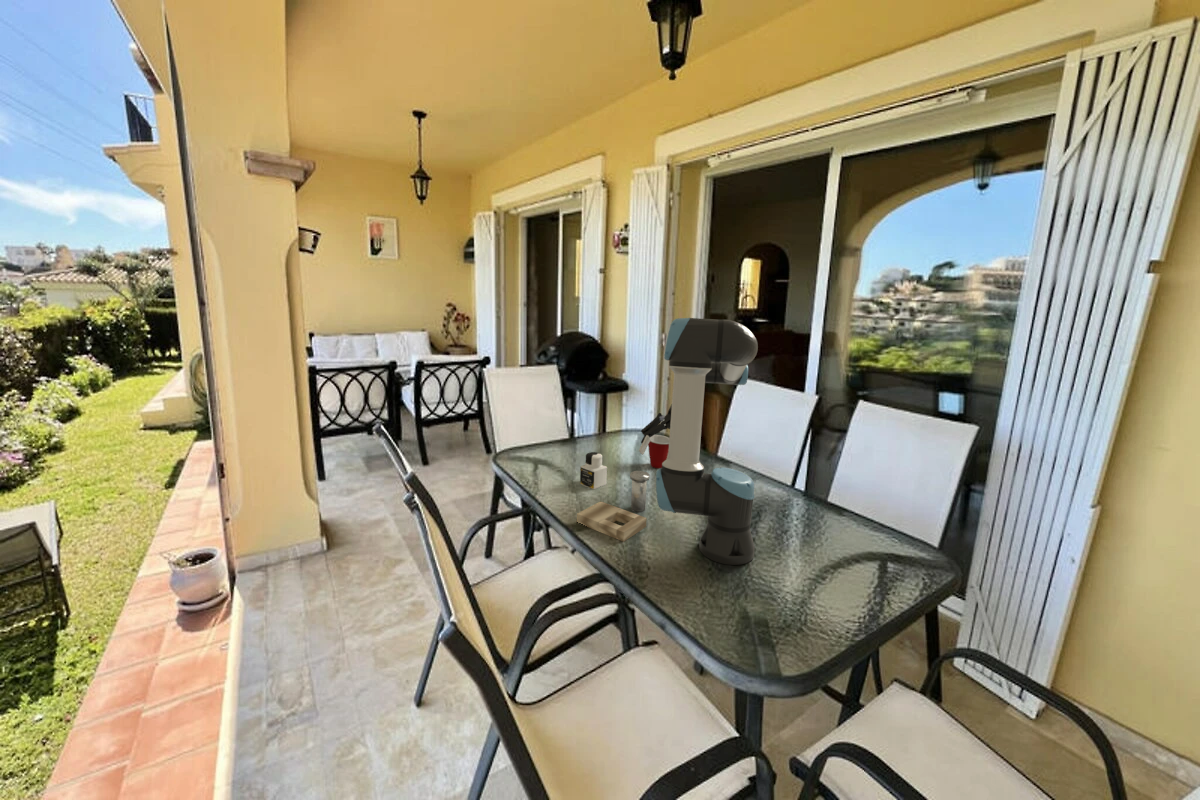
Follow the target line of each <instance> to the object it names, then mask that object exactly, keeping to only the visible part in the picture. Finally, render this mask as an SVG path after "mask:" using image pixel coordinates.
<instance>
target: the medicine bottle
mask: <svg viewBox="0 0 1200 800" xmlns="http://www.w3.org/2000/svg"><path fill="white" fill-rule="evenodd" d="M607 471H608V467H607V466H606V465H603V455H602V454H601V453H600V452H597V451H591V452H588V453H586V454H585V464H584V465H581V466H580V471H579V472H580V474H579V476H580V477H579V484H580V485H581V484H582V485H581V486H584V487H587V488H589V489H591V490H595V489H598V488H601V487H603V486H606V485H607V479H608V478H607V477H608V474H607V473H608V472H607ZM600 486H601V487H600Z"/></svg>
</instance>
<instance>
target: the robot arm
mask: <svg viewBox="0 0 1200 800" xmlns="http://www.w3.org/2000/svg"><path fill="white" fill-rule="evenodd" d="M666 338H667V339H666V342H665V349H664V355H663V358H664V360H665V361H669V362H668V363H669V364H668V368H669V369H670V370H671V372H673V383H672V384H673V385H672V397H671V404H670V406H669V407H668V411H667V414H666V415H664V414H662V413H661V412H659V413H658V414H657V415H656V417H654V418H653V419H652V420H651V421H649V423H648V424H647V425H646V426H644V427H643V428H642V429H641V430H640V432H641V434H642V435H643V437H642V438H641V441H640V443H641V445H640V447H639V449H638V452H639V453H640V454H641V455H643V456H644V454H645V452H646V450H647V448H648V444H649V442H650V440H651V439H650V437H652V436H653V435H658V433H660V432H662V431H663V430H664V431H665V430H667V429H668V430H669V452H668V456H667V459H666V460H665V461H664V462H663V463H662V468H656V473H655V489H656V501H657V506H658V507H659V509H660V510H661V511H664V512H671V513H674V514H677V513H678V514H685V515H686V514H687V515H694V516H695V515H696V516H705V517H707V523H706V525H705V527H704V529H703V531H702V533H701V536H700V538H699V544H698V545H699V546H698V549H699V551H700V553H701V554H702V555H704V557H706V558H707V559H709V560H711V561H713V562H715V563H719V564H724V565H729V566H730V565H731V566H734V565H735V566H740V565H743V564H744V565H745V564H748V563H750V562H751V561H752V560H753V559H754V557H755V542H754V540H753V535H752V531H751V524H752V513H753V507H754V506H753V505H754V499H755V483H754V480H753V479H752V478H751V476H750V475H747V474H746V473H744V472H742V471H740V470H737V469H733V468H729V467H716V468H713V469H712V471H711V472H710V473H706V472H704V471H705V466H704V465H703V464H702V463H701V461H700V450H701V439H702V438H701V437H702V425H703V415H704V414H703V413H704V399H705V386H706V384H719V385H720V384H722V385H734V386H739V385H740V386H744V385H746V384H747V382H748V377H749V364H751V363H752V362H753V360H754V359H755V357H756V356H757V353H758V350H759V349H758V348H759V346H758V344H759V343H758V340H757V338H756V337H755V335H754V333H753V332H752V331H751V330H750V329H749V328H748V327H747V326H745V325H744V324H742V323H739V322H736V321H735V320H730V319H712V318H697V317H684V318H683V317H681V318H675V319H673V320H672V322H671V324H670V326H669V330H668V333H667V337H666Z"/></svg>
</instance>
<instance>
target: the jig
mask: <svg viewBox="0 0 1200 800" xmlns="http://www.w3.org/2000/svg"><path fill="white" fill-rule="evenodd" d="M647 521H648V519H647V517H645V516H642V515H639V514H636V513H635V512H631V511H628V510H626V509H622V508H620V507H618V506H614V505H612V504H609V503H606V502H604V501H599V502H596V503H594V504H593V505H591V506H589V507H587V508H585V509H583V510H581V511H579V512H577V513H576V523H577V522H578V523H577V524H579V523H581V524H583V525H582V526H584V525H585V527H586V526H587V528H589V529H592V530H594V531H596V532H599V533H601V534H603V535H606V536H609V537H611V538H613V539H616V540H618V541H621V542H624V543H625V542H626V541H627V540H629V539H630V538H632V537H633V536H635V535H636V534H638V533H640V532H641V531H642V530H643V529H645V528H647ZM615 522H619V523H623V524H622V525H619V524H617V523H615ZM581 524H580V525H581Z"/></svg>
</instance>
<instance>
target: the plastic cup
mask: <svg viewBox="0 0 1200 800" xmlns="http://www.w3.org/2000/svg"><path fill="white" fill-rule="evenodd" d="M669 438H670V436H665V435H660V434H655V435H653V436H652V437H650V439H651V440H650V442H649V444H648V446H647V448H648V456H649V462H650V464H649V465H650V466H651V467H652V468H655V469H660V468H662V463H663V462H664V461H665V460H666V459H667V458H668V452H669Z"/></svg>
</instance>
